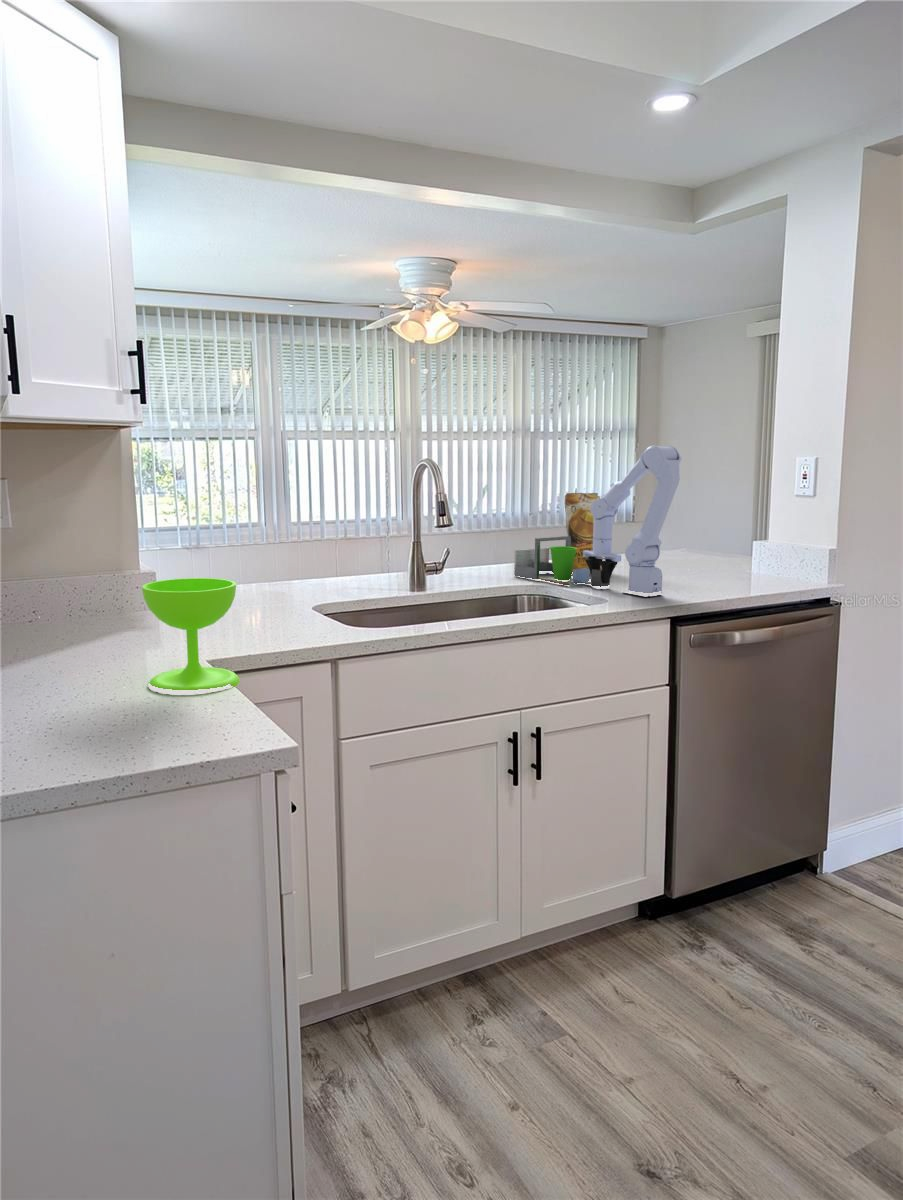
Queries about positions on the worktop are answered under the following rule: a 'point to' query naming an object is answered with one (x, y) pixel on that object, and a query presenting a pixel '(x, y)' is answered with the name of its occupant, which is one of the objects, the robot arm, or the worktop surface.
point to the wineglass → (191, 625)
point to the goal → (535, 558)
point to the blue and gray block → (583, 577)
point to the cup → (562, 561)
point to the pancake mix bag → (580, 524)
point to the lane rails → (556, 580)
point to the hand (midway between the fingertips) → (600, 582)
